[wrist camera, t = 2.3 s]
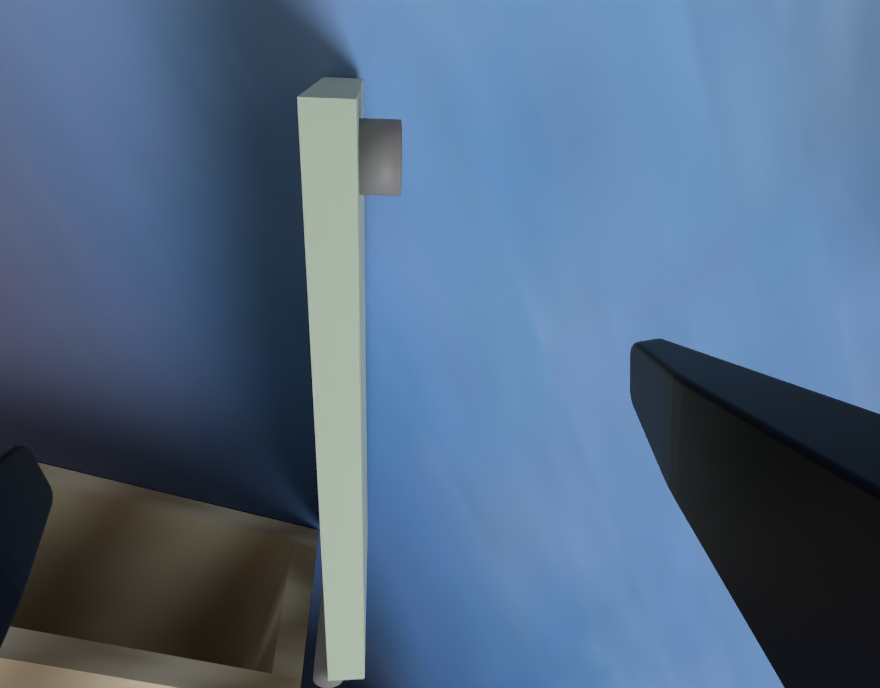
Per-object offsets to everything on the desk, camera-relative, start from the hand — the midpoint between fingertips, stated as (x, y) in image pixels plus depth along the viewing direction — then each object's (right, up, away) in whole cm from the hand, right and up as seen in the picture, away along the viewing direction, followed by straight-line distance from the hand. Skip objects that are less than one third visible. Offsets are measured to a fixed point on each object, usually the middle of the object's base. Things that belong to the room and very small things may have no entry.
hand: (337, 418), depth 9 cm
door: (-2, +1, +14) cm, 14 cm away
